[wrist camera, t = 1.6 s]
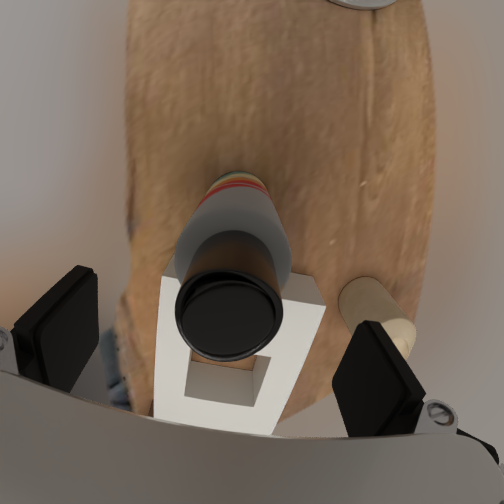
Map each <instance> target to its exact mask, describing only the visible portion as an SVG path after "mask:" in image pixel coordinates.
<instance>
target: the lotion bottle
mask: <svg viewBox="0 0 504 504" xmlns="http://www.w3.org/2000/svg"><path fill="white" fill-rule="evenodd" d="M174 264H175V271H176V275H177V278H178V280H179V283H180V285H181V287H180V289H179V292H178V294H177V298H176V301H175V320H176V325H177V328H178V331H179V333H180V335H181V337H182V338H183V340H184V341H185V343H186V344H187V345H188V346H189V347H190V348H191V349H192V350H193V351H194V352H196V353H197V354H199V355H200V356H202V357H205V358H207V359H210V360H214V361H219V362H231V361H237V360H241V359H244V358H247V357H250V356H252V355H254V354H255V353H257V352H259V351H260V350H262V349H263V348H264V347H265V346H267V345H268V344H269V343H270V342H271V341H272V339H273V338H274V337H275V336H276V334H277V333H278V331H279V329H280V327H281V324H282V320H283V303H282V298H281V292H282V291H283V289H284V288H285V286H286V284H287V282H288V280H289V276H290V273H291V266H292V255H291V249H290V245H289V242H288V239H287V236H286V234H285V231H284V229H283V226H282V224H281V221H280V219H279V216H278V214H277V212H276V209H275V207H274V205H273V202H272V200H271V197H270V195H269V193H268V191H267V189H266V187H265V185H264V184H263V183H262V182H261V181H260V180H259V179H258V178H257V177H255V176H254V175H252V174H250V173H247V172H241V171H235V172H230V173H227V174H225V175H223V176H221V177H220V178H218V179H217V180H216V181H215V182H214V183H213V184H212V186H211V187H210V189H209V190H208V192H207V193H206V195H205V196H204V198H203V199H202V201H201V202H200V204H199V205H198V207H197V209H196V210H195V212H194V213H193V215H192V216H191V218H190V219H189V221H188V223H187V224H186V226H185V228H184V229H183V231H182V233H181V235H180V237H179V239H178V242H177V245H176V249H175V257H174Z"/></svg>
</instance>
